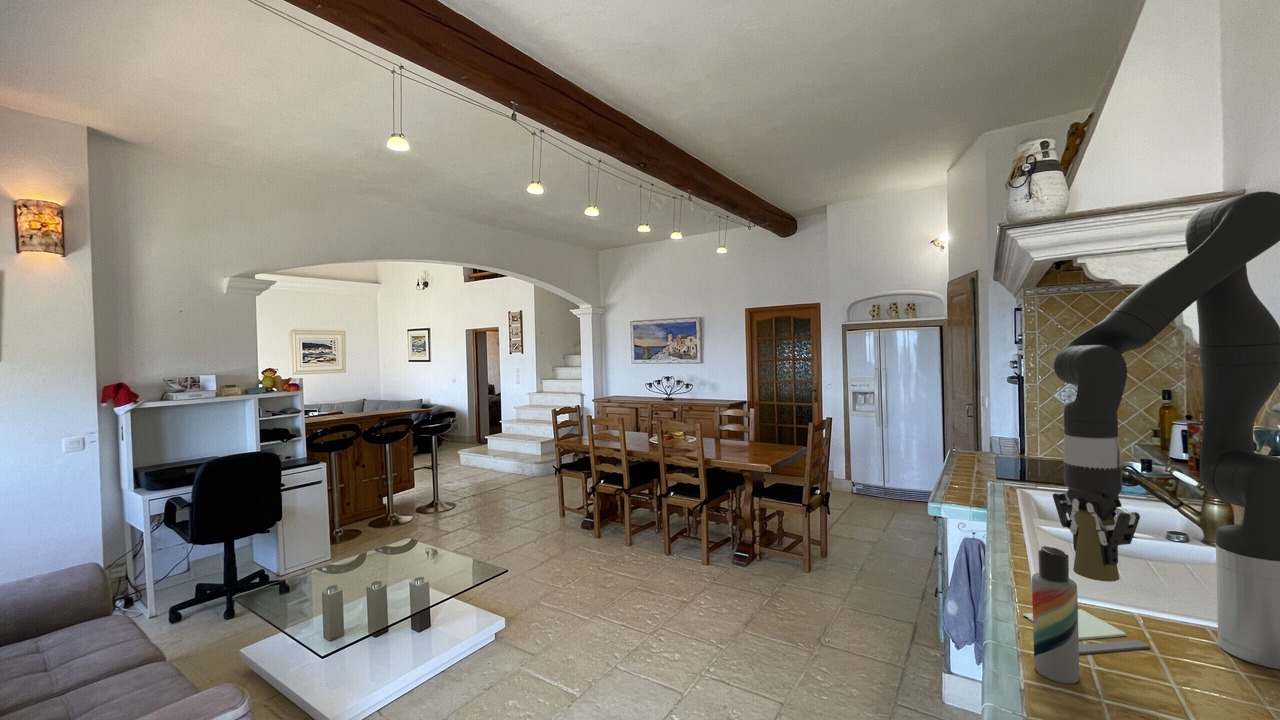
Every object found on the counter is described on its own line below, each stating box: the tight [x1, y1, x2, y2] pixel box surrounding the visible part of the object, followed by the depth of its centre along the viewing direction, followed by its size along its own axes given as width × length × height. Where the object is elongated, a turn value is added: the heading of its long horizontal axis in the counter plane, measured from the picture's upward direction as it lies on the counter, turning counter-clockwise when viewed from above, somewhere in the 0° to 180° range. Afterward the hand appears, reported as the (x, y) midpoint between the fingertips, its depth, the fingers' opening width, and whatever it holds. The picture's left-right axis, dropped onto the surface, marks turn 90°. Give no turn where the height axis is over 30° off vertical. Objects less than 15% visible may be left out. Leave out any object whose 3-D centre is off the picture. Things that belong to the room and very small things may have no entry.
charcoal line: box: [1079, 639, 1151, 656], centre depth 90 cm, size 16×2×1 cm, turn 94°
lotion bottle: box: [1031, 545, 1080, 684], centre depth 84 cm, size 6×6×20 cm
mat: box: [1022, 608, 1127, 641], centre depth 98 cm, size 12×9×1 cm
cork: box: [1072, 510, 1120, 582], centre depth 90 cm, size 6×6×11 cm
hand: (1095, 560), depth 90 cm, fingers closed on cork, 4 cm apart
